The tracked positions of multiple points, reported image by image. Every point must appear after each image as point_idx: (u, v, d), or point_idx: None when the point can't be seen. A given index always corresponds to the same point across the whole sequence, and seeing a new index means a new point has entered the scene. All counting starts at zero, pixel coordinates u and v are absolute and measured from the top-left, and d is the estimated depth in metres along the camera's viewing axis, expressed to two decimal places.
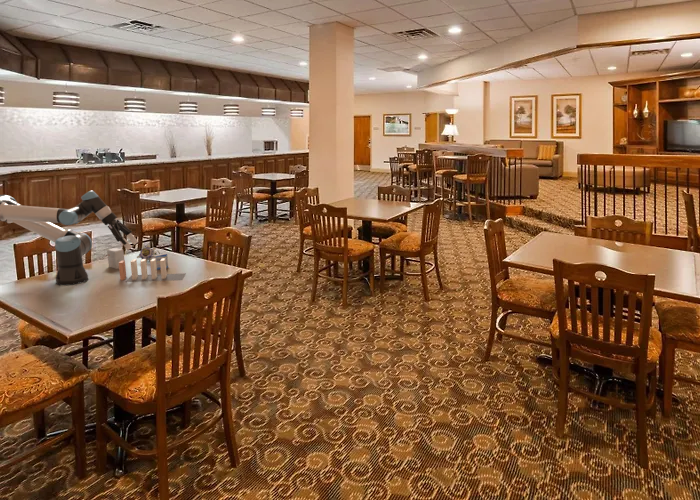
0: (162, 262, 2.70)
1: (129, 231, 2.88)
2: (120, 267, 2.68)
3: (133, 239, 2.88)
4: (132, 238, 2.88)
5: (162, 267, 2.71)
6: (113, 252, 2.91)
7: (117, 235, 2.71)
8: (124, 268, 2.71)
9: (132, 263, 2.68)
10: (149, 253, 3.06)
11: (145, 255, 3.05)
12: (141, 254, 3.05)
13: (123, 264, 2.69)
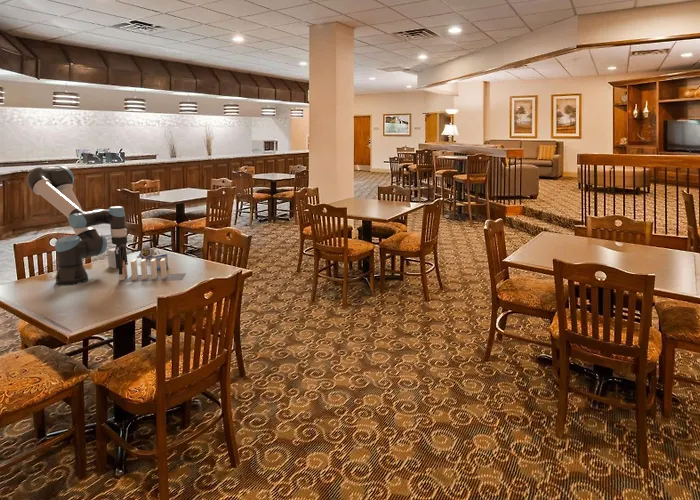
0: (162, 262, 2.70)
1: (126, 263, 2.74)
2: None
3: None
4: None
5: (162, 267, 2.71)
6: (113, 252, 2.91)
7: (119, 264, 2.64)
8: (124, 268, 2.71)
9: (132, 263, 2.68)
10: (149, 253, 3.06)
11: (145, 255, 3.05)
12: (141, 254, 3.05)
13: (123, 264, 2.69)
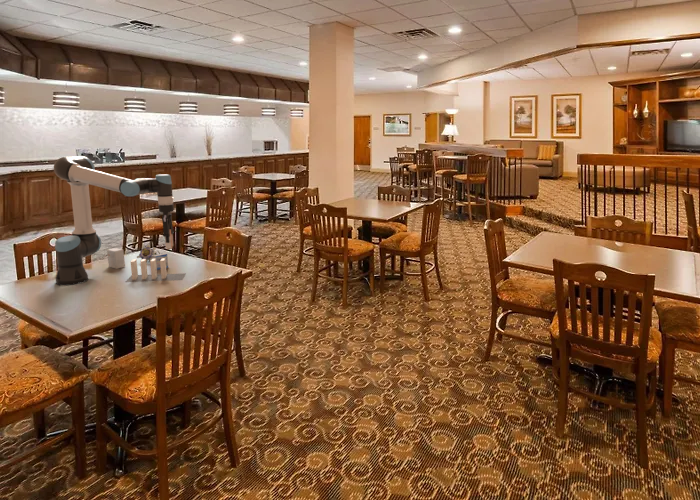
0: (162, 262, 2.70)
1: (172, 232, 2.74)
2: None
3: None
4: None
5: (162, 267, 2.71)
6: (113, 252, 2.91)
7: (166, 232, 2.63)
8: (170, 237, 2.71)
9: (132, 263, 2.68)
10: (149, 253, 3.06)
11: (145, 255, 3.05)
12: (141, 254, 3.05)
13: None
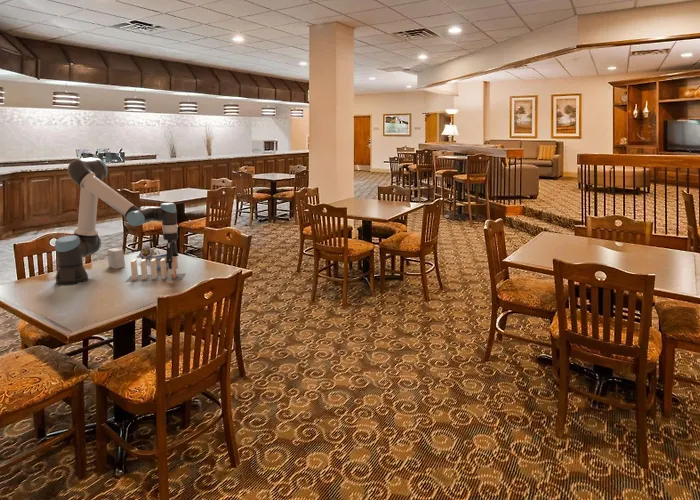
0: (162, 262, 2.70)
1: (176, 254, 2.80)
2: None
3: (175, 263, 2.80)
4: (175, 262, 2.80)
5: (162, 267, 2.71)
6: (113, 252, 2.91)
7: (169, 258, 2.64)
8: (174, 265, 2.75)
9: (132, 263, 2.68)
10: (149, 253, 3.06)
11: (145, 255, 3.05)
12: (141, 254, 3.05)
13: (174, 261, 2.73)
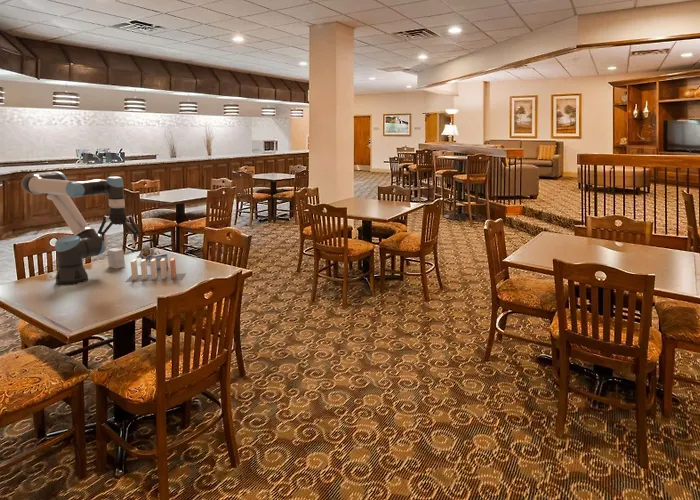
0: (162, 262, 2.70)
1: (134, 232, 2.67)
2: (171, 264, 2.71)
3: None
4: None
5: (162, 267, 2.71)
6: (113, 252, 2.91)
7: (99, 229, 2.63)
8: (174, 265, 2.75)
9: (132, 263, 2.68)
10: (149, 253, 3.06)
11: (145, 255, 3.05)
12: (141, 254, 3.05)
13: (174, 261, 2.73)
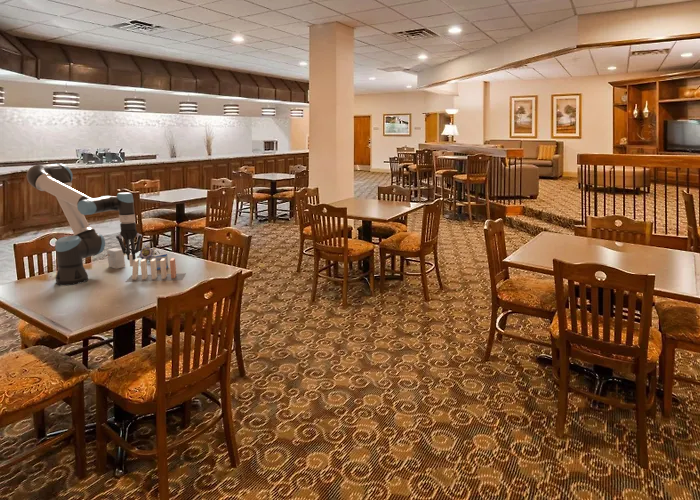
0: (162, 262, 2.70)
1: (133, 252, 2.68)
2: (171, 264, 2.71)
3: None
4: None
5: (162, 267, 2.71)
6: (113, 252, 2.91)
7: None
8: (174, 265, 2.75)
9: (134, 263, 2.68)
10: (149, 253, 3.06)
11: (145, 255, 3.05)
12: (141, 254, 3.05)
13: (174, 261, 2.73)
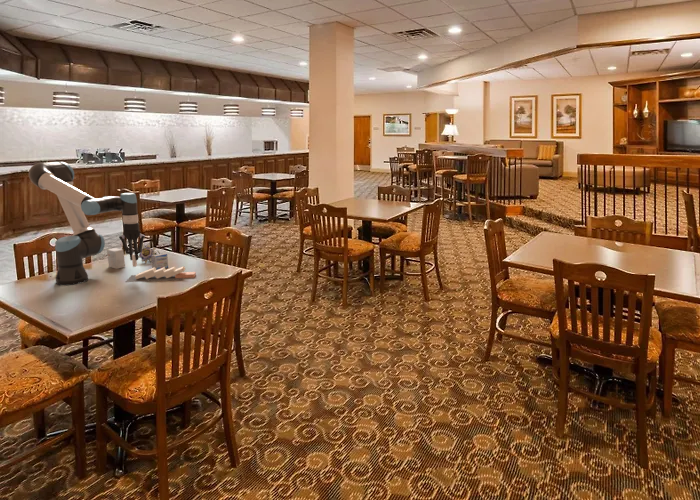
0: (181, 271, 2.73)
1: (136, 253, 2.68)
2: (189, 275, 2.74)
3: None
4: None
5: (176, 272, 2.73)
6: (113, 252, 2.91)
7: None
8: None
9: (151, 271, 2.71)
10: (149, 253, 3.06)
11: (145, 255, 3.05)
12: (141, 254, 3.05)
13: None
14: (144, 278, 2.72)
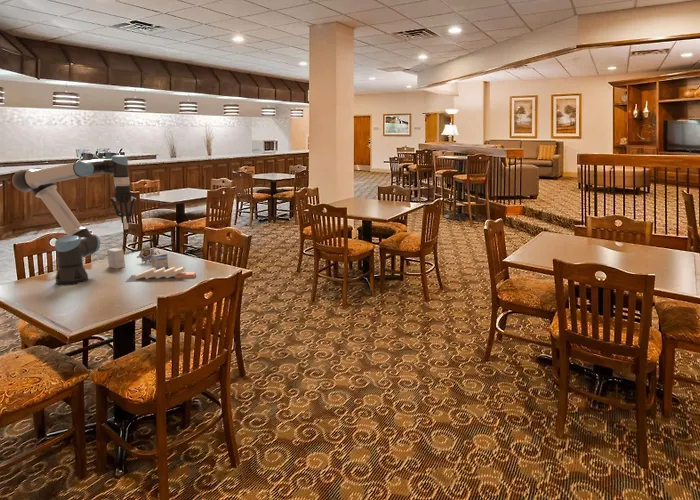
0: (181, 271, 2.73)
1: (127, 215, 2.70)
2: (189, 275, 2.74)
3: None
4: None
5: (176, 272, 2.73)
6: (113, 252, 2.91)
7: None
8: None
9: (151, 271, 2.71)
10: (149, 253, 3.06)
11: (145, 255, 3.05)
12: (141, 254, 3.05)
13: None
14: (144, 278, 2.72)
